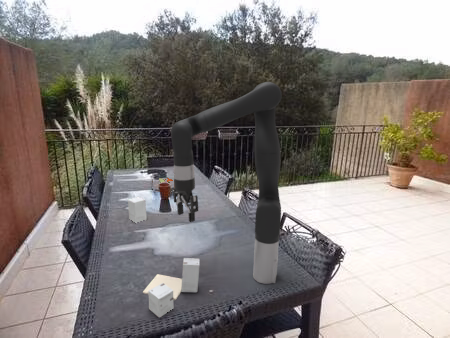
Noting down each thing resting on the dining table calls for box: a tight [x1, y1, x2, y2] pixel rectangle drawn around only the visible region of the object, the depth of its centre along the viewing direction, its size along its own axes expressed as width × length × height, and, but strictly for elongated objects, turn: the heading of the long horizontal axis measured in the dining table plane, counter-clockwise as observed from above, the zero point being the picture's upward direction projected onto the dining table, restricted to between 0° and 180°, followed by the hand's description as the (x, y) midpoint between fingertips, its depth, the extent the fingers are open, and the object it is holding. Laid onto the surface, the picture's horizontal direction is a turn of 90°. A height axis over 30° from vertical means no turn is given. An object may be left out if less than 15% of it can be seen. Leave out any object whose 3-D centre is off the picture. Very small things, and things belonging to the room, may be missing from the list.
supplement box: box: [127, 196, 148, 224], centre depth 163 cm, size 7×7×13 cm
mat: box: [142, 273, 182, 301], centre depth 108 cm, size 13×11×1 cm
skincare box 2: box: [181, 257, 200, 293], centre depth 105 cm, size 6×4×12 cm
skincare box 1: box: [147, 283, 175, 318], centre depth 96 cm, size 6×6×7 cm
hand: (186, 217), depth 108 cm, fingers open, 8 cm apart
